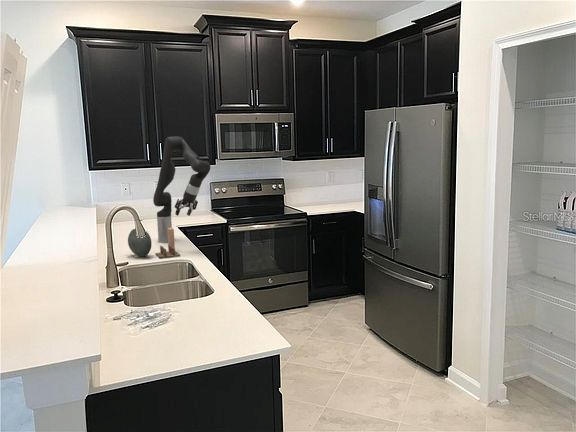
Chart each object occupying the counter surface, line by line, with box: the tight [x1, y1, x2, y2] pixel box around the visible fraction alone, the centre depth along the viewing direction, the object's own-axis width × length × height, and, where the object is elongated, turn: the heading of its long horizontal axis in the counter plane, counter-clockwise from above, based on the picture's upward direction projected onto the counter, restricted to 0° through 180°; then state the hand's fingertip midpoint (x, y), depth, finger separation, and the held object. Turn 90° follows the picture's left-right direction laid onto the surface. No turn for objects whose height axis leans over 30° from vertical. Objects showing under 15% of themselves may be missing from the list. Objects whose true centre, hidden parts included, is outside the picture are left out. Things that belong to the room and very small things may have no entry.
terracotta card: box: [167, 227, 176, 249], centre depth 297 cm, size 6×2×14 cm, turn 27°
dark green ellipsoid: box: [127, 219, 152, 258], centre depth 283 cm, size 12×17×22 cm
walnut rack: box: [154, 244, 181, 260], centre depth 286 cm, size 12×12×5 cm
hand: (182, 215), depth 291 cm, fingers open, 8 cm apart
